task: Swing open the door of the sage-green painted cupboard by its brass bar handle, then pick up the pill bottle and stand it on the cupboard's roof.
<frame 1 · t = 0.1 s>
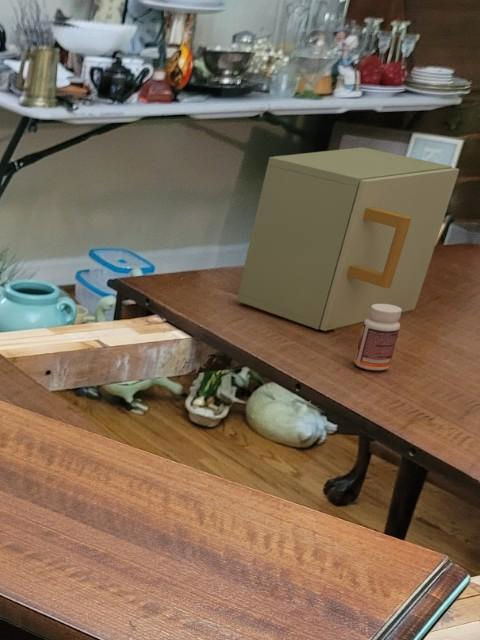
cupboard: (322, 304, 182), on the table
pill bottle: (370, 366, 157), on the table
cupboard door: (409, 254, 168), point 11 cm above the table, hinge at 0.0°
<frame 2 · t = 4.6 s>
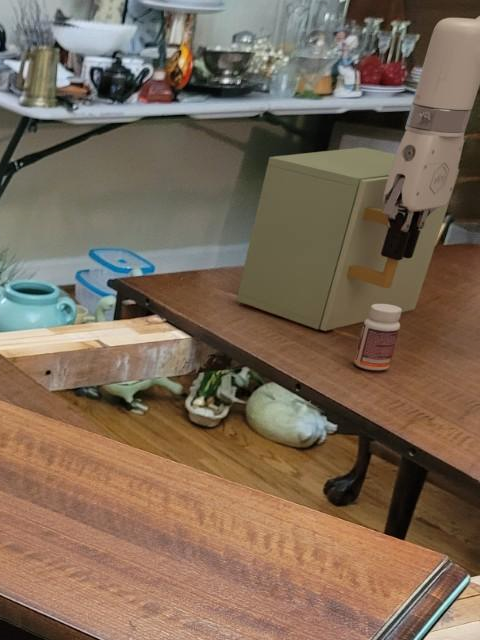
hand: (396, 256, 159), 13 cm above the table, tool pointing down, fingers closed on cupboard door
cupboard door: (409, 254, 168), point 11 cm above the table, hinge at 0.0°, touching gripper
everything else where it was.
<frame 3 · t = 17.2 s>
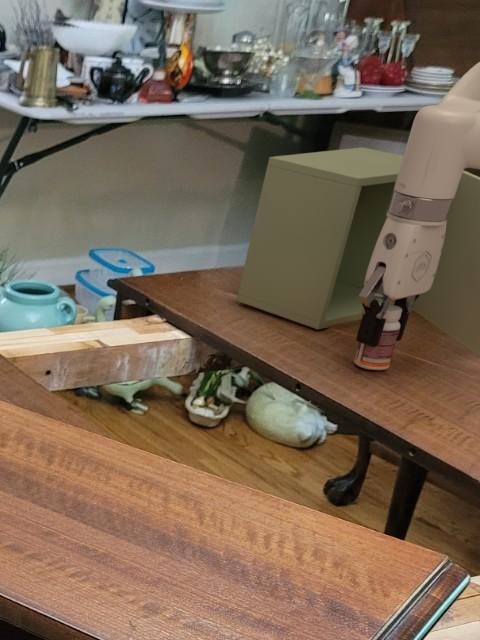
hand: (378, 339, 155), 4 cm above the table, tool pointing down, fingers closed on pill bottle, 4 cm apart
pill bottle: (370, 366, 157), on the table, touching gripper
when the fingers open (26 cm above the table, at t = 25.2 s): pill bottle stays where it is, resting on cupboard.
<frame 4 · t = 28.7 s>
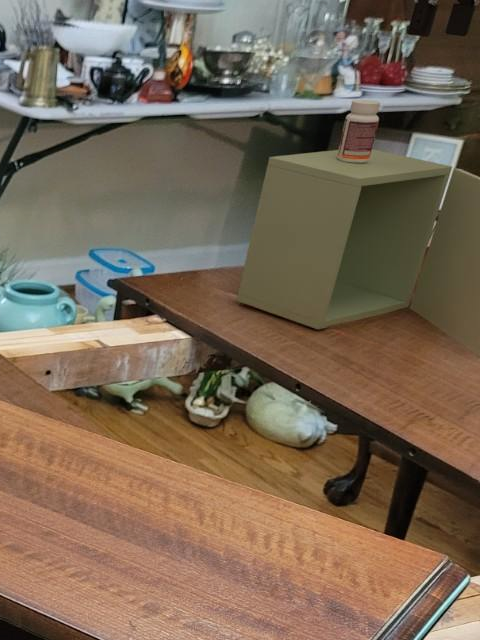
hand: (437, 35, 160), 40 cm above the table, tool pointing down, fingers open, 9 cm apart
pill bottle: (352, 161, 170), point 22 cm above the table, touching cupboard
at the end: cupboard door at +57° (first picture: +0°); pill bottle inside the target area on the cupboard (1.3 cm from its centre), point 22.3 cm above the cupboard's base; pill bottle tilted 0° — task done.
